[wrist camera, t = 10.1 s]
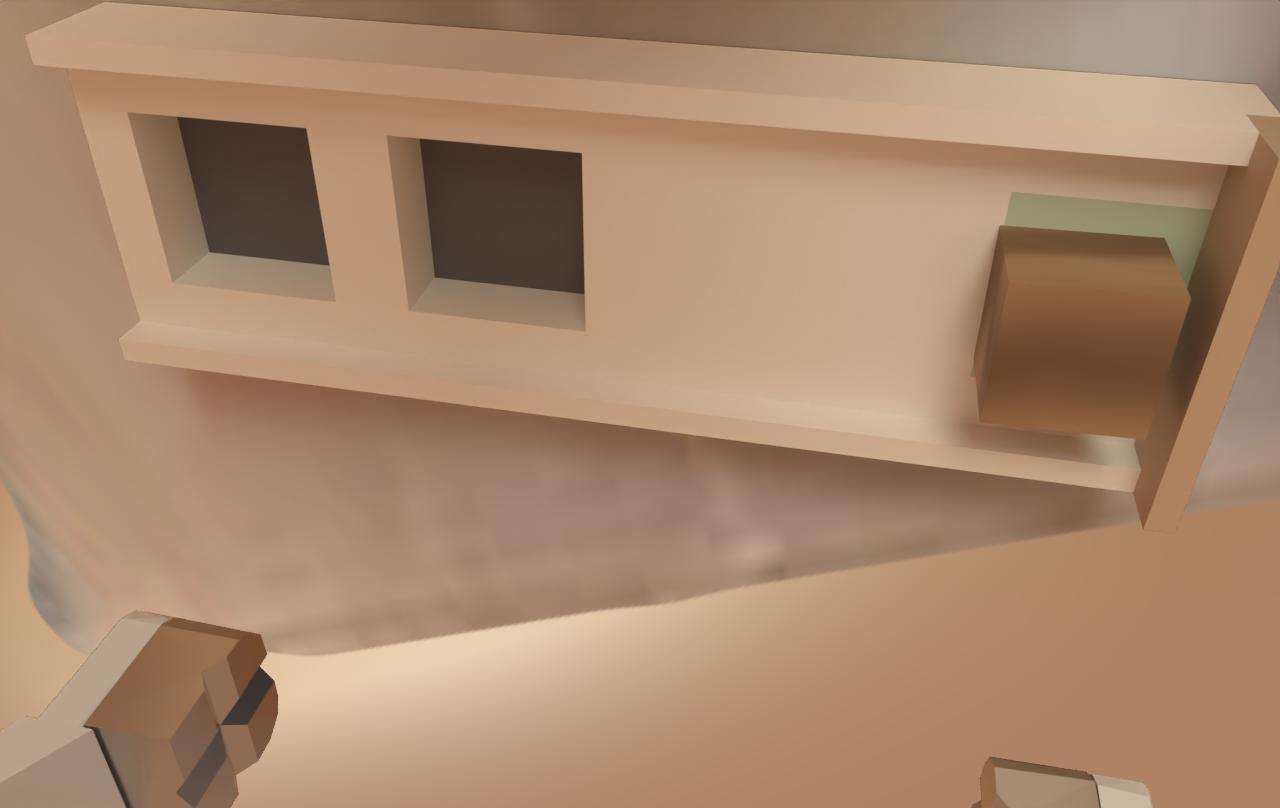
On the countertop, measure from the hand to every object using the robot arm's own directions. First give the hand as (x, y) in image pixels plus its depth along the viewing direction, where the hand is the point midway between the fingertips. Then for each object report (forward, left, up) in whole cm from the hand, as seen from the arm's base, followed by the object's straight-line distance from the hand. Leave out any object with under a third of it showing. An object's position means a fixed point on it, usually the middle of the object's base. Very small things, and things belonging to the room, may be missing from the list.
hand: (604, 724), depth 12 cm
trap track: (+8, -6, -29) cm, 31 cm away
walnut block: (+8, +9, -26) cm, 29 cm away
